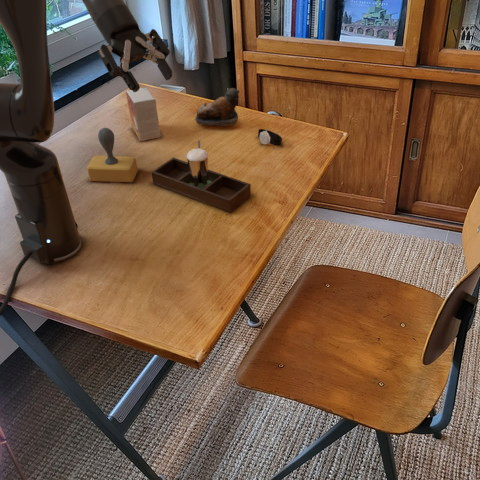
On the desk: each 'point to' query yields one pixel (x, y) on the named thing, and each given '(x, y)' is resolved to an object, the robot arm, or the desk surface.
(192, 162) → the milkshake
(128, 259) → the desk surface
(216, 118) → the brown animal figure
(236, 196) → the tray
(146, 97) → the small box
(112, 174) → the rubber stamp
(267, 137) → the watch
